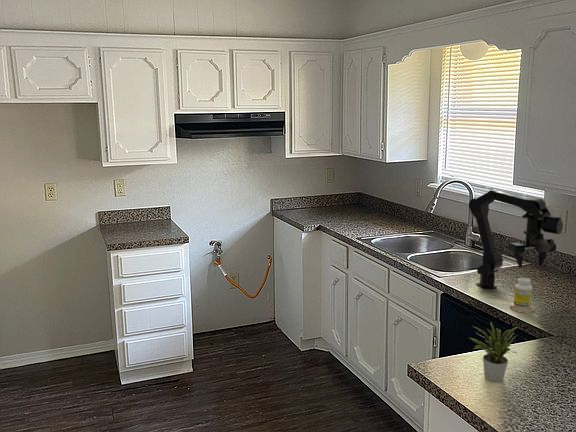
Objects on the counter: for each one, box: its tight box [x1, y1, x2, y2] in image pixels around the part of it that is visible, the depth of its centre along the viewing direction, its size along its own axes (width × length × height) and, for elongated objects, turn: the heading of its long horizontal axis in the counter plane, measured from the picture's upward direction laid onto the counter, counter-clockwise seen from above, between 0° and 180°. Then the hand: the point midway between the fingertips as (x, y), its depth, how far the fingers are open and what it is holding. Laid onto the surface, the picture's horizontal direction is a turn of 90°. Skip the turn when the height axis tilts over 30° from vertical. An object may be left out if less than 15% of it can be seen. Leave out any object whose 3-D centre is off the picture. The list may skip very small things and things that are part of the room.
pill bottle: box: [513, 277, 533, 309], centre depth 228 cm, size 6×6×11 cm
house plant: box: [469, 321, 519, 383], centre depth 173 cm, size 14×14×16 cm
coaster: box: [509, 302, 536, 313], centre depth 229 cm, size 9×9×1 cm
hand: (530, 267), depth 240 cm, fingers open, 9 cm apart
